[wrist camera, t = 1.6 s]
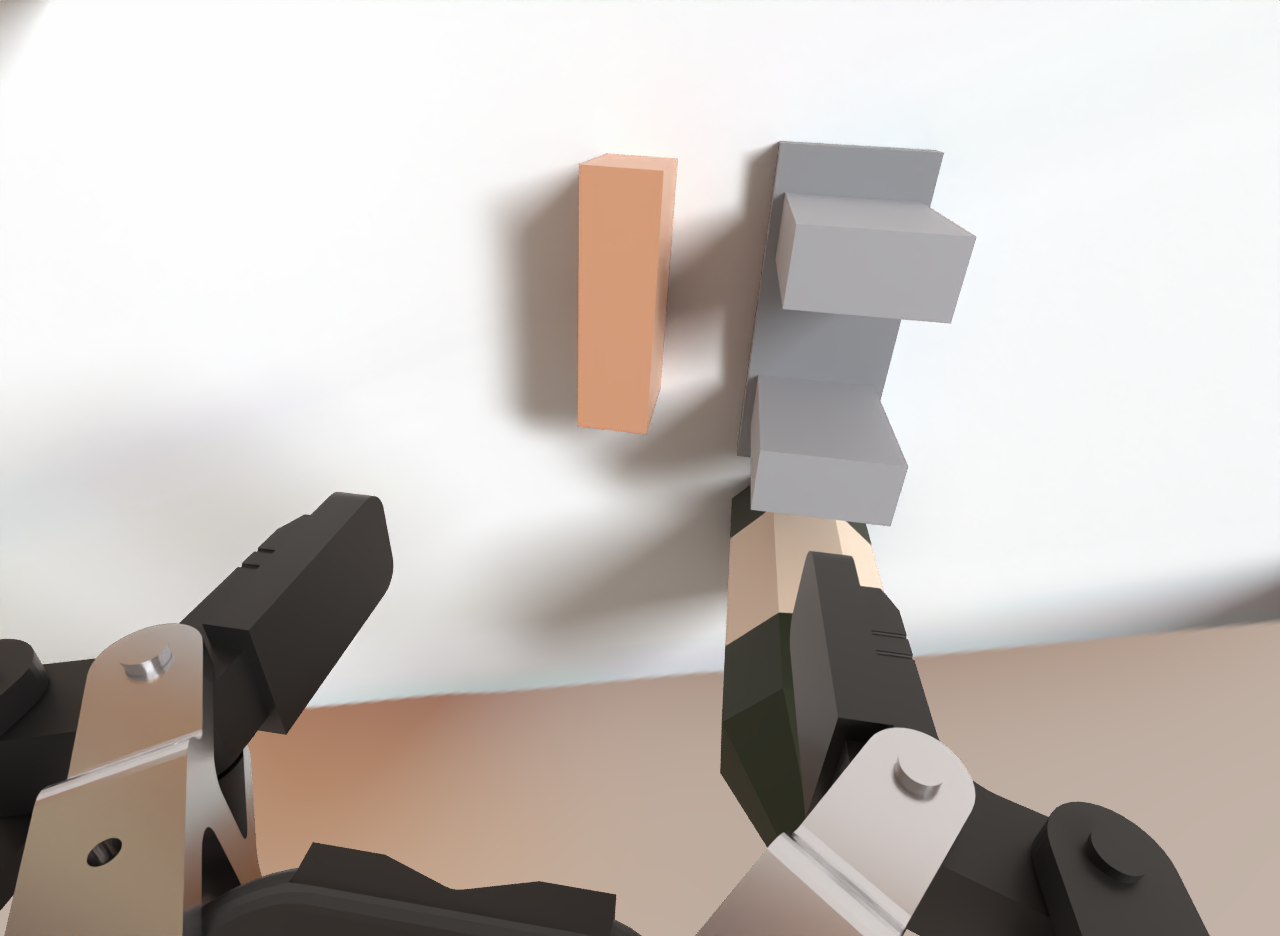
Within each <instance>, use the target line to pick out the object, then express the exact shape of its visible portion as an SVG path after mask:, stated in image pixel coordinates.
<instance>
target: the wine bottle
mask: <svg viewBox="0 0 1280 936" xmlns="http://www.w3.org/2000/svg"><path fill="white" fill-rule="evenodd" d="M809 551H816V552H824V553H832V554H841V555H849V556H852V557H853V559H854V562H855V566H856V570H857V574H858V578H859V583H860V586H866V587H874V588H881V589H882V591H883V592H884V590H883V586H882V582H881V579H880V575H879V571H878V568H877V564H876V560H875V556H874V553H873V549H872V545H871V541H870V538H869V534H868V530H867V527H866V523H858V522H850V521H841V520H833V519H824V518H816V517H808V516H799V515H791V514H782V513H774V512H766V511H757V510H751V485H750V486H748V487H747V488H746V489H744V490H743V491H742V492H741V493H739V494H738V495H737V496H735V497H734V498H733V499H732V512H731V534H730V556H729V577H728V599H727V621H726V643H725V665H724V687H723V709H722V735H721V738H722V739H721V769H720V770H721V771H720V773H721V774H722V776H723V778H724V779H725V781H726V782H727V784H728V786H729V787H730V789H731V790H732V792H733V794H734V795H735V797H736V798H737V800H738V802H739V803H740V805H741V806H742V808H743V809H744V811H745V812H746V814H747V816H748V817H749V819H750V821H751V822H752V824H753V825H754V827H755V829H756V830H757V832H758V833H759V835H760V837H761V838H762V840H763V841H764V843H765V844H766V846H767V848H768V847H769V846H770V844H771V843H772V842H773V841H774V840H775V839H776V838H777V837H778V836H779V835H781V834H782V833H783V832H786V831H787V832H789V833H790V834H792V833H793V832H795V831H796V830H797V829H798V828H799V826H800V825H801V824H802V823H803V822H804V820H805V808H804V797H803V786H802V775H801V764H800V753H799V742H798V731H797V720H796V709H795V698H794V687H793V676H792V664H791V653H790V629H791V620H792V614H793V610H794V606H795V601H796V597H797V593H798V589H799V584H800V580H801V576H802V572H803V568H804V563H805V559H806V556H807V554H808V552H809Z"/></svg>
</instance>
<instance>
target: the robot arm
mask: <svg viewBox="0 0 1280 936" xmlns="http://www.w3.org/2000/svg"><path fill="white" fill-rule="evenodd" d="M392 573H393V557H392V552H391V546H390V541H389V536H388V530H387V525H386V519H385V514H384V509H383V505H382V502H381V500H380V499H379V498H378V497H376V496H368V495H359V494H351V493H343V492H336V493H333V494H332V495H331V496H329V497H328V498H327V499H326V500H325V501H324V502H323V503H322V504H321V505H320V506H319V507H318V508H317V509H316V510H315V511H314V512H313V513H312V514H311V515H303V516H301V517H299V518H297V519H296V520H294V521H292V522H290V523H288V524H286V525H285V526H283V527H281V528H279V529H277V530H276V531H275V532H274V533H273V534H272V535H271V536H270V537H269V538H268V539H267V540H266V541H265V542H264V543H263V544H262V545H261V546H260V547H258V551H257V552H253V553H252V554H251V555H250V556H249V557H248V558H247V559H246V560H245V561H244V562H243V563H242V567H238V568H237V569H235V570H234V571H233V572H232V573H231V574H230V575H229V576H228V577H227V578H226V579H225V580H224V581H223V582H222V583H221V584H220V585H219V586H218V587H217V588H216V589H215V590H214V591H212V592H211V593H210V594H209V595H208V596H207V597H206V598H205V599H204V600H203V601H202V602H201V603H200V604H199V605H198V606H197V607H196V608H195V609H194V610H193V611H192V612H191V613H189V614H188V615H187V616H186V617H185V618H184V619H183V620H182V621H181V622H180V623H179V624H177V623H174V624H161V625H156V626H152V627H148V628H145V629H142V630H139V631H136V632H134V633H132V634H129V635H127V636H125V637H123V638H122V639H120V640H118V641H117V642H115V643H113V644H112V645H111V646H109V647H108V648H107V649H105V650H104V651H103V652H102V653H101V654H100V655H99V656H98V657H97V658H96V659H88V660H79V661H70V662H61V663H53V664H44V665H42V663H41V662H40V660H39V658H38V657H37V655H36V653H35V652H34V650H33V649H32V647H31V646H30V645H29V644H28V643H26V642H24V641H21V640H15V639H1V640H0V910H1V909H2V908H3V907H4V906H5V904H6V903H7V902H8V901H9V900H10V898H11V897H12V896H13V895H14V896H13V900H12V905H11V909H10V913H9V918H8V922H7V927H6V931H5V936H641V935H639V934H638V933H637V932H635V931H634V930H633V929H631V928H630V927H628V926H626V925H624V924H622V923H620V922H618V921H616V920H615V905H616V894H609V893H604V892H598V891H592V890H587V889H581V888H574V887H569V886H563V885H558V884H552V883H546V882H540V881H538V882H530V883H520V884H511V885H501V886H492V887H483V888H474V889H464V890H455V889H450V888H448V887H445V886H443V885H441V884H440V883H438V882H436V881H434V880H432V879H430V878H428V877H426V876H424V875H422V874H420V873H419V872H417V871H415V870H413V869H411V868H409V867H407V866H405V865H403V864H401V863H400V862H398V861H396V860H394V859H392V858H390V857H388V856H386V855H383V854H378V853H371V852H366V851H360V850H355V849H349V848H342V847H336V846H331V845H325V844H320V843H314V842H313V843H312V845H311V847H310V848H309V850H308V852H307V854H306V855H305V857H304V859H303V861H302V863H301V865H300V866H299V868H295V869H289V870H285V871H281V872H276V873H272V874H269V875H266V876H263V877H262V876H261V872H260V868H259V864H258V857H257V850H256V834H255V818H254V804H253V789H252V788H253V787H252V771H251V757H250V752H249V749H248V747H247V744H248V743H249V741H250V740H251V739H252V737H253V736H254V735H255V733H256V732H257V731H258V730H259V731H266V732H272V733H279V734H285V735H286V734H287V733H288V731H289V730H290V729H291V727H292V726H293V724H294V723H295V721H296V720H297V718H298V717H299V716H300V714H301V713H302V711H303V710H304V709H305V707H306V706H307V704H308V703H309V701H310V700H311V699H312V697H313V696H314V694H315V693H316V691H317V690H318V689H319V687H320V686H321V684H322V683H323V681H324V680H325V679H326V677H327V676H328V674H329V673H330V671H331V670H332V669H333V667H334V666H335V664H336V663H337V661H338V660H339V659H340V657H341V656H342V654H343V653H344V651H345V650H346V649H347V647H348V646H349V644H350V643H351V641H352V640H353V639H354V637H355V636H356V634H357V633H358V631H359V630H360V629H361V627H362V626H363V624H364V623H365V621H366V620H367V619H368V617H369V616H370V614H371V613H372V611H373V610H374V609H375V607H376V606H377V604H378V603H379V601H380V600H381V599H382V597H383V596H384V594H385V593H386V591H387V589H388V587H389V585H390V582H391V578H392ZM790 653H791V664H792V676H793V687H794V698H795V709H796V720H797V731H798V742H799V753H800V764H801V775H802V786H803V797H804V808H805V820H804V822H803V823H802V824H801V825H800V826H799V828H798V829H797V830H796V831H795V832H793V833H792V834H790V833H789V832H787V831H786V832H783V833H782V834H781V835H779V836H778V837H777V838H776V839H775V840H774V841H773V842H772V843H771V844H770V846H769V847H768V848H767V849H766V850H765V852H764V853H763V854H762V855H761V856H760V858H759V859H758V860H757V861H756V862H755V864H754V865H753V866H752V867H751V869H750V870H749V871H748V872H747V873H746V875H745V876H744V877H743V878H742V879H741V881H740V882H739V883H738V884H737V886H736V887H735V888H734V889H733V890H732V892H731V893H730V894H729V895H728V896H727V898H726V899H725V900H724V901H723V903H722V904H721V905H720V906H719V907H718V909H717V910H716V911H715V912H714V913H713V915H712V916H711V917H710V918H709V920H708V921H707V922H706V923H705V924H704V926H703V927H702V928H701V929H700V930H699V932H698V933H697V934H696V935H695V936H903V935H904V933H905V931H906V929H908V930H910V931H912V932H914V933H916V934H918V935H920V936H1209V934H1208V932H1207V930H1206V928H1205V926H1204V924H1203V922H1202V920H1201V918H1200V916H1199V914H1198V912H1197V910H1196V908H1195V906H1194V904H1193V902H1192V900H1191V898H1190V896H1189V894H1188V892H1187V890H1186V888H1185V886H1184V884H1183V882H1182V880H1181V878H1180V876H1179V874H1178V872H1177V870H1176V868H1175V867H1174V865H1173V863H1172V862H1171V860H1170V859H1169V857H1168V856H1167V855H1166V853H1165V852H1164V851H1163V850H1162V848H1161V847H1159V845H1158V844H1157V843H1156V842H1155V841H1154V840H1153V839H1152V838H1151V837H1150V836H1149V835H1148V834H1147V833H1146V832H1144V831H1143V830H1142V829H1141V828H1139V827H1138V826H1137V825H1135V824H1134V823H1133V822H1131V821H1129V820H1128V819H1126V818H1125V817H1123V816H1121V815H1119V814H1117V813H1116V812H1113V811H1112V810H1109V809H1107V808H1104V807H1102V806H1099V805H1095V804H1091V803H1085V802H1070V803H1066V804H1062V805H1061V806H1059V807H1057V808H1056V809H1055V810H1054V811H1053V812H1052V813H1051V815H1050V816H1049V817H1047V816H1045V815H1042V814H1040V813H1038V812H1035V811H1033V810H1030V809H1028V808H1026V807H1024V806H1021V805H1019V804H1017V803H1014V802H1012V801H1010V800H1007V799H1005V798H1002V797H1000V796H998V795H996V794H994V793H992V792H990V791H988V790H986V789H985V788H983V787H981V786H980V785H978V784H977V783H975V782H974V781H972V778H971V776H970V774H969V772H968V770H967V769H966V767H965V765H964V764H963V762H962V761H961V760H960V759H959V758H958V757H957V755H956V754H955V753H954V752H952V751H951V750H950V749H949V748H948V747H947V746H945V745H944V744H943V743H941V742H940V741H939V739H938V736H937V733H936V730H935V727H934V723H933V720H932V717H931V713H930V710H929V707H928V704H927V701H926V697H925V694H924V690H923V687H922V684H921V681H920V677H919V674H918V671H917V668H916V664H915V661H914V660H912V655H913V654H912V651H911V648H910V645H909V641H908V640H907V639H906V631H905V628H904V625H903V622H902V618H901V615H900V612H899V610H898V609H897V608H896V606H895V605H894V604H893V603H892V601H891V600H890V599H889V598H888V597H887V595H886V594H885V593H884V592H883V591H882V589H881V588H874V587H866V586H860V583H859V578H858V574H857V570H856V566H855V562H854V559H853V557H852V556H849V555H841V554H832V553H824V552H816V551H809V552H808V554H807V556H806V559H805V563H804V568H803V572H802V576H801V580H800V584H799V589H798V593H797V597H796V601H795V606H794V610H793V614H792V620H791V629H790Z"/></svg>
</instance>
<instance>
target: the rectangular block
mask: <svg viewBox="0 0 1280 936" xmlns="http://www.w3.org/2000/svg"><path fill="white" fill-rule="evenodd" d="M677 163H678V159H675V158H661V157H647V156H633V155H620V154H604V155H602V156H599V157H597V158H594V159H591V160H589V161H586V162H584V163H581V164H579V269H578V426H580V427H589V428H597V429H606V430H614V431H623V432H632V433H640V434H647V431H648V427H649V424H650V421H651V418H652V414H653V411H654V408H655V405H656V401H657V398H658V395H659V392H660V388H661V375H662V362H663V349H664V335H665V322H666V309H667V296H668V282H669V269H670V256H671V242H672V229H673V216H674V203H675V189H676V176H677Z"/></svg>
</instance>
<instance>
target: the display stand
mask: <svg viewBox="0 0 1280 936" xmlns="http://www.w3.org/2000/svg"><path fill="white" fill-rule="evenodd" d="M943 154H944V153H943V152H939V151H936V150H922V149H905V148H888V147H871V146H855V145H838V144H821V143H804V142H787V141H780V142H779V149H778V156H777V164H776V171H775V178H774V185H773V193H772V200H771V207H770V214H769V221H768V229H767V236H766V243H765V250H764V258H763V265H762V272H761V279H760V286H759V294H758V301H757V308H756V315H755V323H754V330H753V337H752V344H751V351H750V359H749V366H748V373H747V380H746V388H745V395H744V402H743V409H742V416H741V424H740V431H739V438H738V451H737V456H745V457H751V510H757V511H766V512H774V513H782V514H791V515H799V516H808V517H816V518H824V519H833V520H841V521H850V522H858V523H867V524H875V525H883V526H891V523H892V519H893V516H894V513H895V509H896V506H897V502H898V499H899V496H900V492H901V489H902V486H903V482H904V479H905V476H906V472H907V469H908V465H907V463H906V460H905V458H904V456H903V453H902V451H901V448H900V446H899V444H898V441H897V439H896V437H895V434H894V432H893V430H892V427H891V425H890V423H889V420H888V418H887V416H886V413H885V411H884V408H883V406H882V404H881V401H880V400H881V396H882V392H883V388H884V384H885V381H886V377H887V373H888V369H889V365H890V361H891V357H892V353H893V349H894V345H895V341H896V338H897V334H898V330H899V326H900V322H901V319H905V320H917V321H928V322H940V323H951V321H952V317H953V314H954V311H955V307H956V304H957V301H958V297H959V294H960V290H961V287H962V284H963V280H964V277H965V274H966V270H967V267H968V264H969V260H970V257H971V253H972V250H973V247H974V243H975V240H976V236H974V235H973V234H971V233H969V232H968V231H966V230H965V229H963V228H962V227H960V226H958V225H957V224H955V223H954V222H952V221H950V220H949V219H947V218H946V217H944V216H942V215H941V214H939V213H938V212H936V211H934V210H933V209H931V208H930V205H931V201H932V197H933V193H934V189H935V185H936V182H937V178H938V174H939V170H940V166H941V162H942V158H943Z"/></svg>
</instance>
